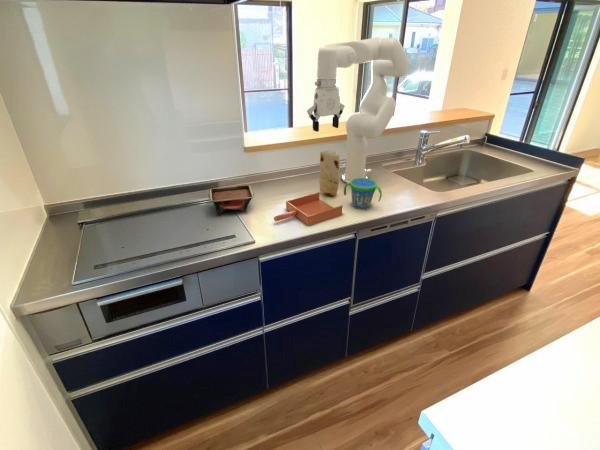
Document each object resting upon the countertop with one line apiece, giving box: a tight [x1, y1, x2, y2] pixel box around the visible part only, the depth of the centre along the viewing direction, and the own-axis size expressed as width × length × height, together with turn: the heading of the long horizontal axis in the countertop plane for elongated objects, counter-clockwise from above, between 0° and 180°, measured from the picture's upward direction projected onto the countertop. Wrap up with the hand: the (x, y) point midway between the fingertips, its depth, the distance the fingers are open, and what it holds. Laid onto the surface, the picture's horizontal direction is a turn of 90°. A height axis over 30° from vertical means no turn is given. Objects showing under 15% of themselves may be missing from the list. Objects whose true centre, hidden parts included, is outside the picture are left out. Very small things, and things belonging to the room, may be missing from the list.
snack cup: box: [343, 178, 383, 209], centre depth 142 cm, size 16×10×10 cm
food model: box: [318, 150, 340, 198], centre depth 149 cm, size 10×7×20 cm
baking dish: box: [208, 184, 255, 216], centre depth 142 cm, size 14×18×10 cm
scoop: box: [273, 191, 343, 226], centre depth 136 cm, size 26×16×4 cm, turn 123°
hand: (325, 129), depth 139 cm, fingers open, 9 cm apart
